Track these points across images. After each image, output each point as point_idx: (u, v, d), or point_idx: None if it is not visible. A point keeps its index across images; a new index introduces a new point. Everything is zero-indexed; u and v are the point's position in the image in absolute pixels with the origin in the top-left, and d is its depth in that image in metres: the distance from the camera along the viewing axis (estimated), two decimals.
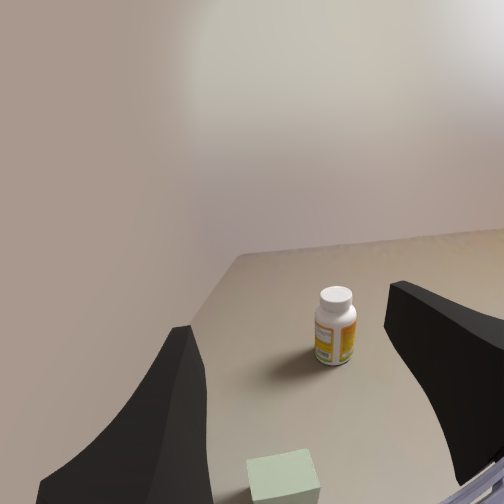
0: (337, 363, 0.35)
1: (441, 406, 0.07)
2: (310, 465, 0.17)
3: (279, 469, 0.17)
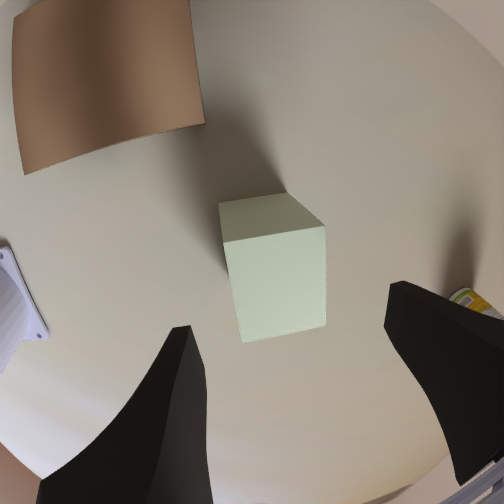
0: None
1: (441, 406, 0.07)
2: (289, 330, 0.13)
3: (291, 285, 0.12)
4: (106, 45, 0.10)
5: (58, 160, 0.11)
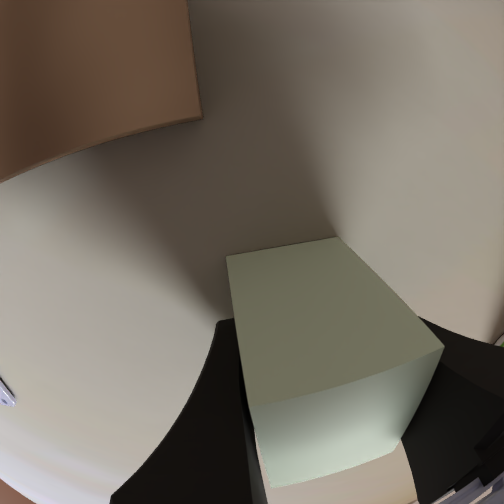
0: None
1: None
2: (342, 469, 0.07)
3: (363, 432, 0.06)
4: None
5: None
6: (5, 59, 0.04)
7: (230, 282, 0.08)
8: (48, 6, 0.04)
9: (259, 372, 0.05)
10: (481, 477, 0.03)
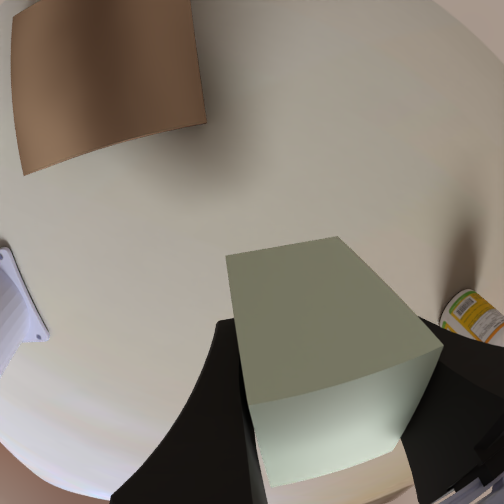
0: (443, 317, 0.22)
1: None
2: (342, 468, 0.07)
3: (362, 431, 0.06)
4: (106, 43, 0.09)
5: (58, 160, 0.11)
6: (93, 82, 0.10)
7: (230, 281, 0.08)
8: (120, 55, 0.10)
9: (258, 371, 0.05)
10: (482, 477, 0.03)
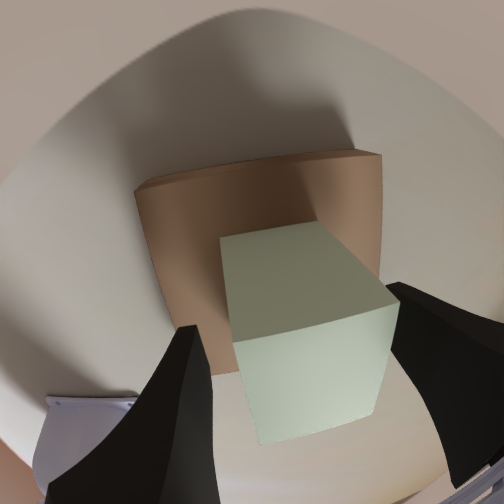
0: None
1: (436, 409, 0.07)
2: (324, 427, 0.08)
3: (337, 384, 0.07)
4: None
5: None
6: None
7: (222, 256, 0.10)
8: None
9: (242, 319, 0.07)
10: None
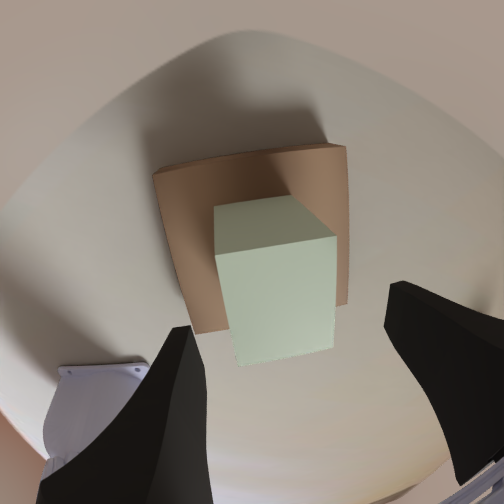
0: None
1: (441, 406, 0.07)
2: (291, 353, 0.11)
3: (295, 304, 0.10)
4: None
5: None
6: None
7: (214, 216, 0.13)
8: None
9: (223, 244, 0.10)
10: None
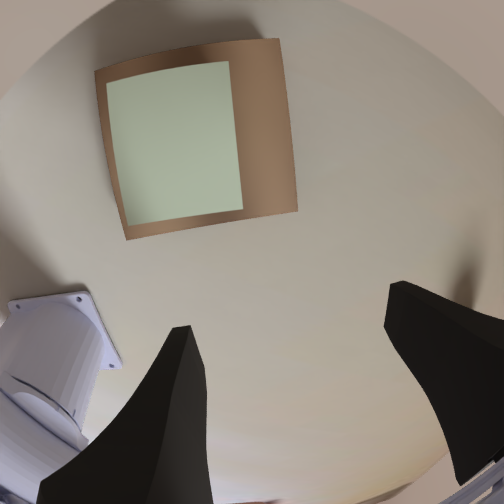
0: None
1: (441, 406, 0.07)
2: (188, 210, 0.09)
3: (186, 137, 0.08)
4: None
5: (166, 231, 0.16)
6: None
7: None
8: None
9: None
10: None
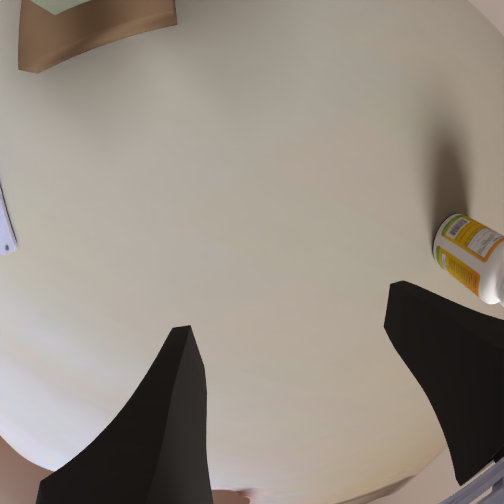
0: (436, 241, 0.21)
1: (441, 406, 0.07)
2: None
3: None
4: None
5: (49, 51, 0.10)
6: None
7: None
8: None
9: None
10: None
